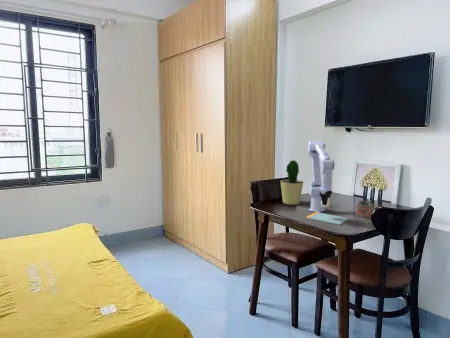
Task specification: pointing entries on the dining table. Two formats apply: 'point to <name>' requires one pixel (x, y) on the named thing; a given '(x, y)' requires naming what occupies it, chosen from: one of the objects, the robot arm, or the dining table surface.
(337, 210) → the dining table surface
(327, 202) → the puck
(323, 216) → the mat
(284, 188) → the potted cactus
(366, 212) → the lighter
